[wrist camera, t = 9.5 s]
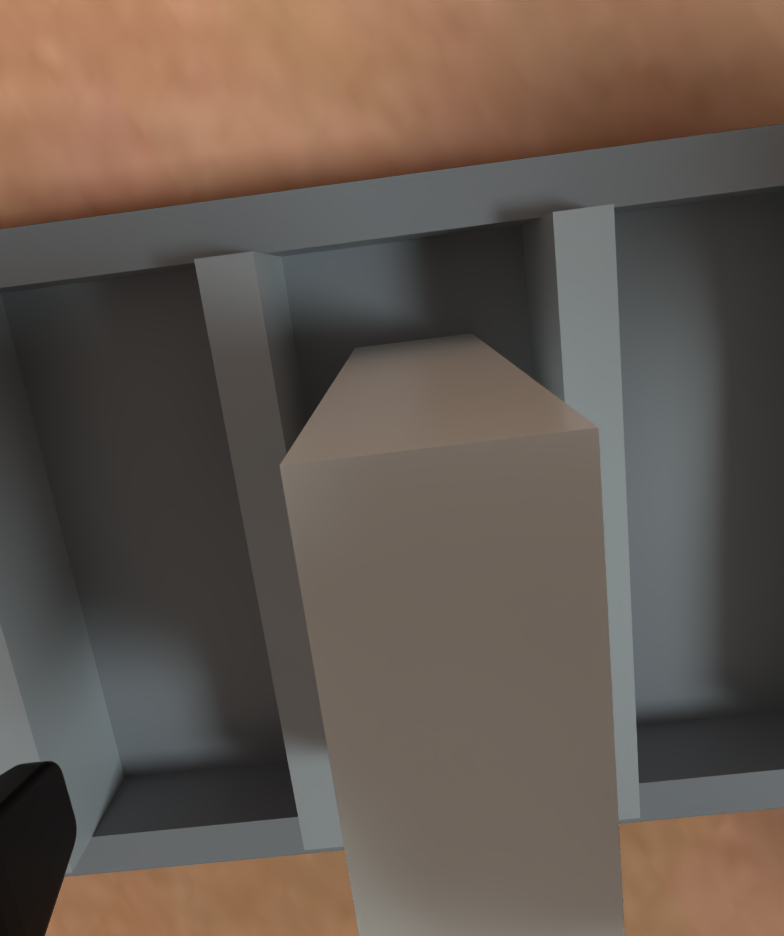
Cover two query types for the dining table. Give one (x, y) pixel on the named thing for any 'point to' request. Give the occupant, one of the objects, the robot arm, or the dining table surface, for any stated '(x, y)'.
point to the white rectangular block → (460, 643)
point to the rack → (287, 412)
